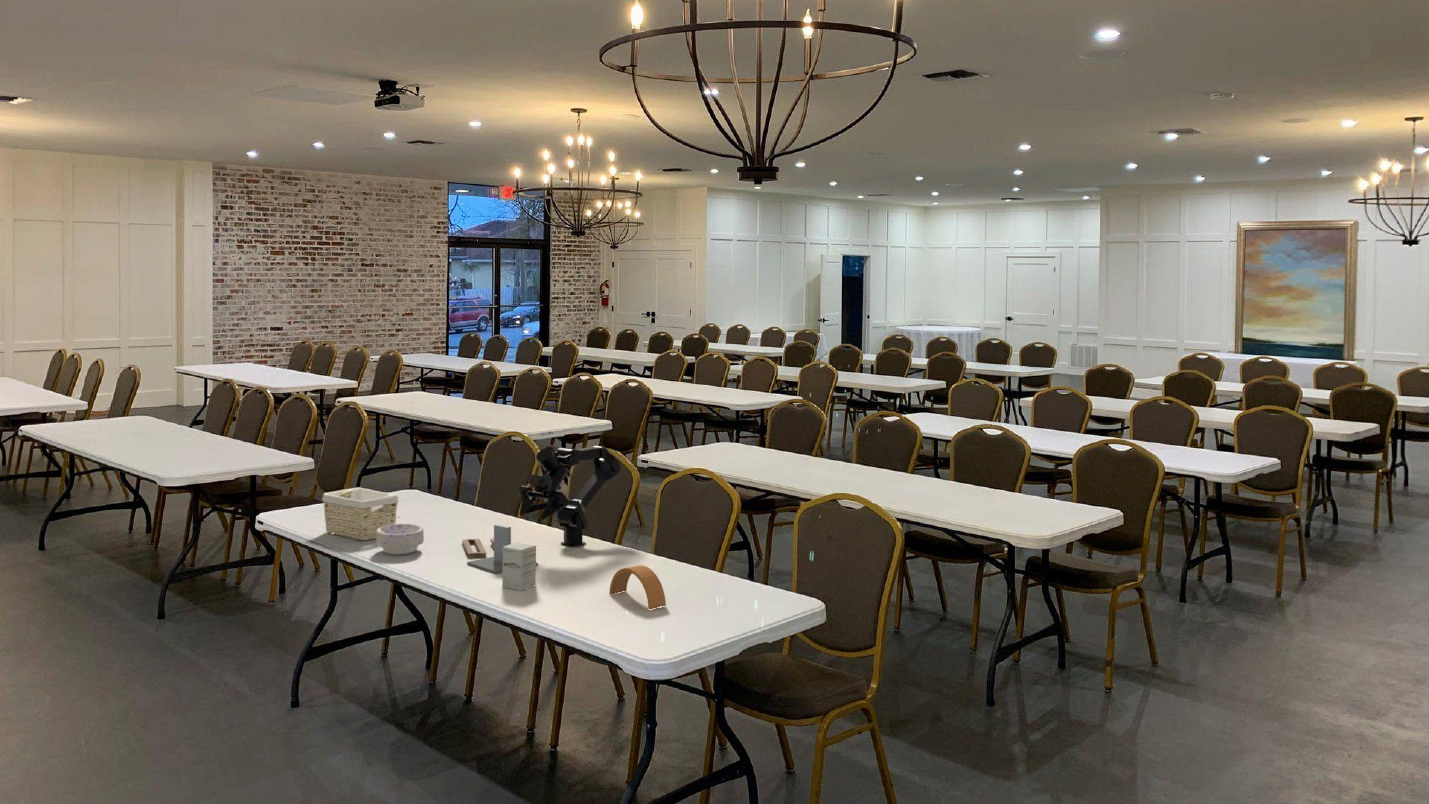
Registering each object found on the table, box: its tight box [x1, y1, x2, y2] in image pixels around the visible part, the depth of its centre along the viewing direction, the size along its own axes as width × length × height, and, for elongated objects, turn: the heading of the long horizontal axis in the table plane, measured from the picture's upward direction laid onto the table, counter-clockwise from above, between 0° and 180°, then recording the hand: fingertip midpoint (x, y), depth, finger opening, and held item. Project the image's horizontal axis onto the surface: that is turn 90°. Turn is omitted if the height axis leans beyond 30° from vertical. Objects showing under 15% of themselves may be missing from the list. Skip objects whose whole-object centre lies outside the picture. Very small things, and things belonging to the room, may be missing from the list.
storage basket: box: [321, 486, 399, 541], centre depth 387 cm, size 24×16×15 cm
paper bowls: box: [376, 523, 425, 556], centre depth 363 cm, size 15×15×8 cm
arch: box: [608, 564, 667, 609], centre depth 312 cm, size 6×20×10 cm, turn 40°
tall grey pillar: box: [493, 524, 512, 563], centre depth 348 cm, size 2×6×12 cm, turn 56°
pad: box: [466, 556, 539, 575], centre depth 349 cm, size 16×16×1 cm
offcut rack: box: [461, 537, 494, 559], centre depth 368 cm, size 14×20×3 cm
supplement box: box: [501, 542, 537, 592], centre depth 324 cm, size 7×7×13 cm
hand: (530, 517), depth 358 cm, fingers open, 9 cm apart
